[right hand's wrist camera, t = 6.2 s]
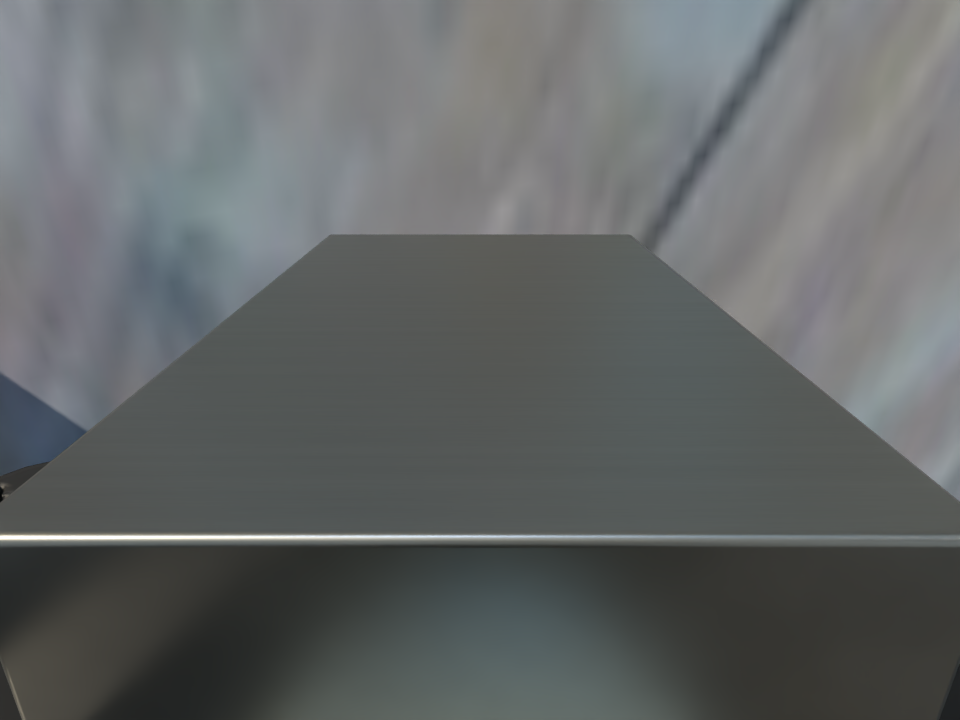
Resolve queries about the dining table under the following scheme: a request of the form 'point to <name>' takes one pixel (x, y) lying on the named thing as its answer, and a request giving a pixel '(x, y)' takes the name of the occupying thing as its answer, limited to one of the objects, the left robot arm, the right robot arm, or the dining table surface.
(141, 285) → the dining table surface
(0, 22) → the dining table surface
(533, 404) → the box
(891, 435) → the dining table surface
